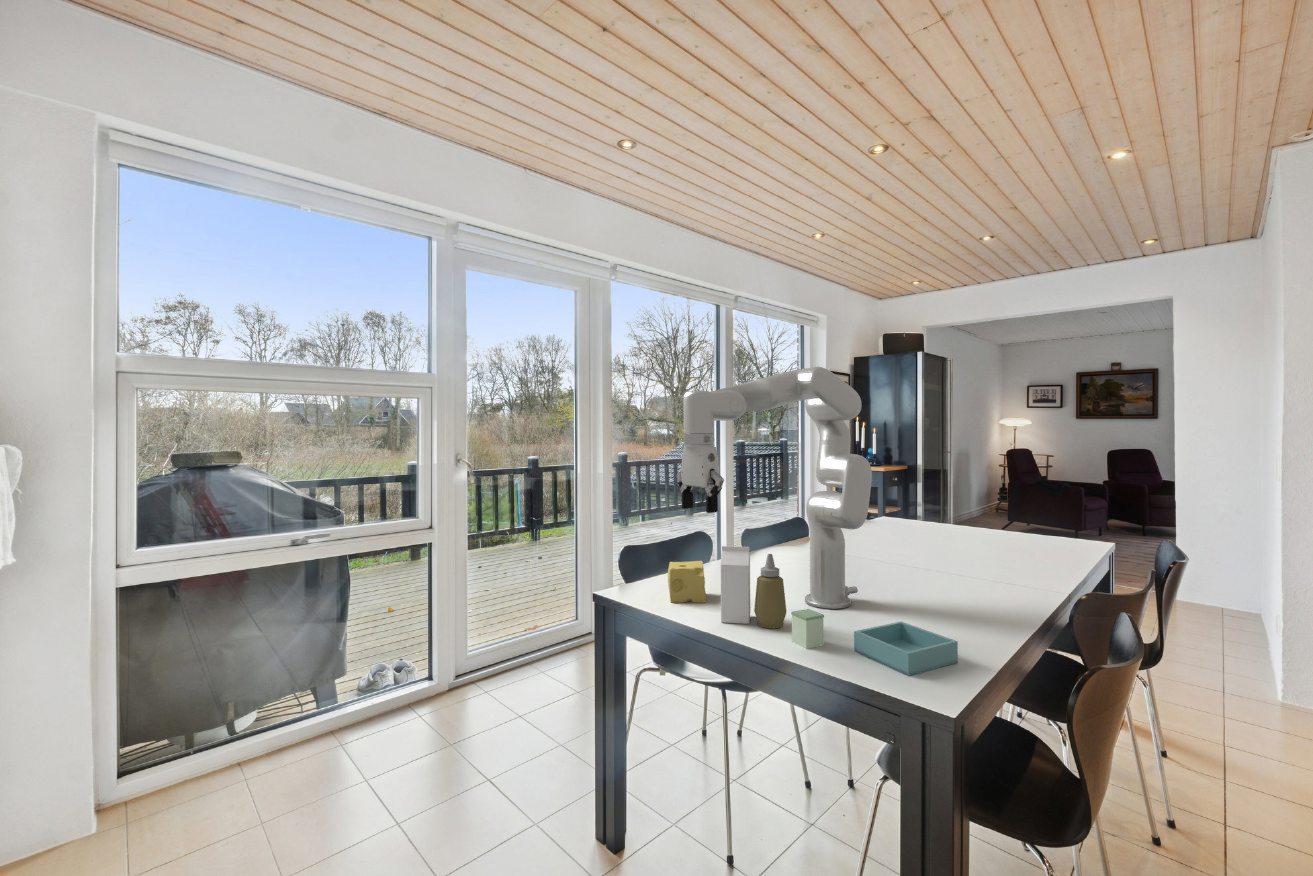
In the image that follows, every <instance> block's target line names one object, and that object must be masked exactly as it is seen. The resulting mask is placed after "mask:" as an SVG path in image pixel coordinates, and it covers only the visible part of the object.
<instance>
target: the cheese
mask: <svg viewBox="0 0 1313 876" xmlns="http://www.w3.org/2000/svg"><path fill="white" fill-rule="evenodd" d="M667 569H668V570H667V584H668V585H667V587H668V591H669V599H670V600H669V601H670V603H673V604H675V603H687V602H691V603H693V604H694V603H695V604H697V603H698V604H701V603H702V604H703V603H704V604H705V603H706V599H707V593H706V587H705V586H706V585H705V584H706V579H705V570H704V569H705V568H704V562H703V561H702V560H694V561H669V564H668V568H667Z"/></svg>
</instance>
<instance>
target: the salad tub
mask: <svg viewBox="0 0 1313 876" xmlns="http://www.w3.org/2000/svg"><path fill="white" fill-rule="evenodd" d="M790 614H791V642H792V643H794V644H795V645H798V646H799V647H802V648H804V649H806V650H807V649H811V648H817V647H822V646H824V638H825V637H824V618H825V615H824V613H821V612H818V611H816V610H814V609H811V608H804V609H800V610H795V611H791V612H790Z"/></svg>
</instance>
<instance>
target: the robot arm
mask: <svg viewBox="0 0 1313 876" xmlns="http://www.w3.org/2000/svg"><path fill="white" fill-rule="evenodd" d="M682 399H683V403H682V404H683V405H682V406H683V413H682V414H683V449H682V457H681V468H680V469H681V471H680V472H678V473H677V474H676V479H677V483H678V487H679V492H680V494H681V509H685V510H686V509H693V507H694V492H693V491H692V490H693V489H694V488H700V489H701V488H702V489H703V488H704V490H705V492H706V496H705V512H706V513H707V514H712V513H718V512H719V510H718V509H719V505H718V503H719V501H718V500H719V499H718V497H719V496H720V492H721V491H722V489H723V485H724V481H725V479H724V477H722V476H721V475H720V463H719V455H718V451H717V447H716V446H715V422H718V421H719V422H720V421H734V420H737V419H739V418H741V417H742V416H743V415H744V414H745V413H750V412H751V413H752V412H763V411H768V410H773V409H776V408H779V407H782V406H786V405H789V404H794V403H797V402H800V401H804V400H805V402H804V408H805V411H806V414H807V415H808V416H809V417H810V419H811V420H812V421H813V422H814V424H815V426H816V428H817V430H818V434H819V441H818V442H819V446H818V452H817V461H816V469H815V472H816V474H815V475H816V476H815V477H816V480H817V481H818V482H819V483H820V484H821V485H823V486H827V487H831V488H839V489H842V490H841V492H838V491H829V490H822V491H821V490H820V491H816V492H814V493H812V494H811V495H810V496H809V497H808V499H807V501H806V504H805V509H806V510H805V511H806V516H807V521H808V528H809V529H808V530H809V573H810V574H809V577H810V578H809V585H810V586H809V587H810V589H809V591H810V592H809V594H806V595H805V596H804V602H805V603H806V604H808V605H809V606H811V607H816V608H820V609H830V610H832V609H833V610H835V609H838V610H839V609H845V608H848V607H850V606H851V605H852V600H851V598H850V597H849V595H850V594H856V593H858V592H859V591H858V587H857V586H855V585H854V586H847V585H846V540H845V536H844V532H843V530H842V529H846V530H858V529H860V528H861V527H862V526H863V525H864V524H865V522H866V520H867V517H868V512H869V507H870V506H869V505H870V498H871V492H872V491H871V490H872V489H871V488H872V482H873V472H872V467H871V464H870V462H869V460H868V459H866V457H864V456H863V455H860V454H856V453H855V454H854V453H851V442H852V441H851V432H850V429H849V427H848V425H847V423H846V422H845V421H849V420H853V419H855V418H856V417H857V416H858V415H860V413H861V411H862V399H861V397H860V395H859V393H858V391H856V390H855V389H854V388H853V387H852V386H850V385H849V383H847V382H846V381H844V380H843V379H842V378H841V377H839V376H838V375H837V374H835V373H833V371H830V370H828V369H827V368H825V367H823V366H814V367H813V366H812V367H806V368H805V367H804V368H797V369H793V370H790V371H789V370H788V371H786V372H782V373H778V374H774V375H770V376H765V377H762V378H759V379H753V380H751V381H747V382H743V383H741V384H737V385H733V386H728V387H724V388H719V389H716V390H712V391H709V390H690V391H686V392H685V393H684V395H683V398H682Z"/></svg>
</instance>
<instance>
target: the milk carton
mask: <svg viewBox="0 0 1313 876" xmlns="http://www.w3.org/2000/svg"><path fill="white" fill-rule="evenodd" d="M720 556H721V557H720V622H721V623H729V624H730V623H731V624H745V625H746V624H747V625H749V624H750V620H751V555H750V546H732V545H731V546H728V545H722V546H721V555H720Z"/></svg>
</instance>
